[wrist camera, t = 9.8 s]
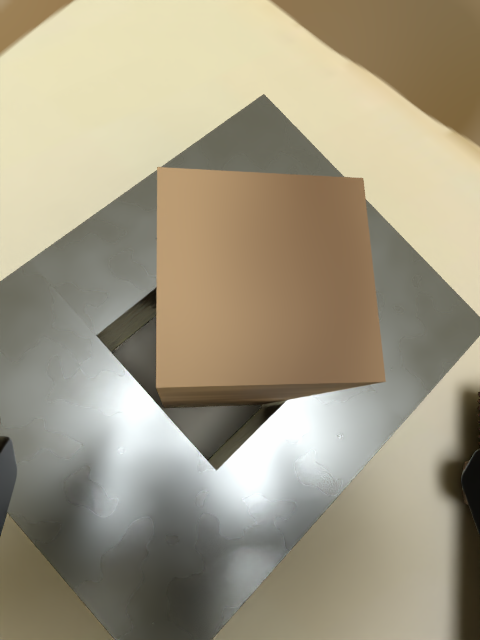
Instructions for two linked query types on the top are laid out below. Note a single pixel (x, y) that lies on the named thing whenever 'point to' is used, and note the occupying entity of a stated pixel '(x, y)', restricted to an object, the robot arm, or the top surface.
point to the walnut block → (262, 288)
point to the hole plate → (159, 430)
